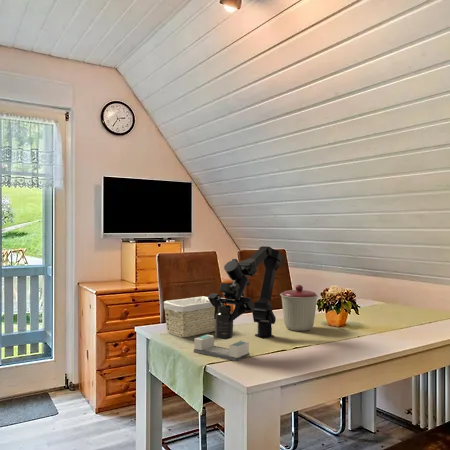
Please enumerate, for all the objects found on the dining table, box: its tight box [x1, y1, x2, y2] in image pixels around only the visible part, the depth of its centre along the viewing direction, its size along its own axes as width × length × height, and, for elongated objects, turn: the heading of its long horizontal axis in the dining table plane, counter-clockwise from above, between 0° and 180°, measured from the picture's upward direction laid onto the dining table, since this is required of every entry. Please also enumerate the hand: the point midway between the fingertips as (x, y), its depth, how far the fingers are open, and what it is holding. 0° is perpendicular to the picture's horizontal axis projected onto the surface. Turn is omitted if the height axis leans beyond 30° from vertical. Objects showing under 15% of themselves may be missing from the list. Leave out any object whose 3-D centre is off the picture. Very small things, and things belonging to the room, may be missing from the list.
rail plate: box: [193, 345, 251, 362], centre depth 166 cm, size 20×9×1 cm, turn 55°
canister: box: [279, 284, 319, 332], centre depth 208 cm, size 18×18×21 cm
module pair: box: [193, 334, 250, 358], centre depth 166 cm, size 20×8×4 cm, turn 55°
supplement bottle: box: [214, 304, 234, 340], centre depth 165 cm, size 7×7×12 cm
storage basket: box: [163, 295, 216, 338], centre depth 201 cm, size 24×16×15 cm
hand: (222, 320), depth 164 cm, fingers closed on supplement bottle, 7 cm apart
